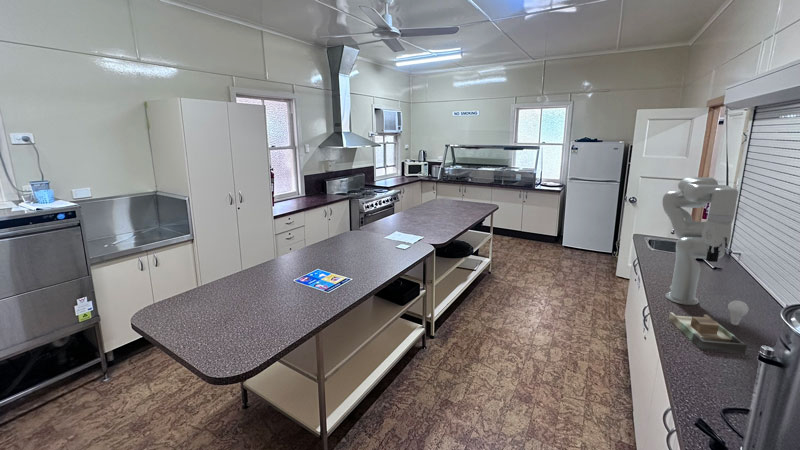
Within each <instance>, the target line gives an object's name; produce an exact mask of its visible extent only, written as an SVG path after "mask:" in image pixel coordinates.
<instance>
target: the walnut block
mask: <svg viewBox="0 0 800 450" xmlns="http://www.w3.org/2000/svg"><path fill="white" fill-rule="evenodd" d="M691 317H692V320H691V326H692V327H693V328H694V329H695V330H696V331H697V332H699V333H704V334H716V335H717V332H718V327H719V325H718V324H716V323H715V322H714V321H713V320H714V319H713V320H711V319H710V318H705V317H704V316H691Z"/></svg>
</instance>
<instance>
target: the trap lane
mask: <svg viewBox="0 0 800 450" xmlns="http://www.w3.org/2000/svg"><path fill="white" fill-rule="evenodd" d="M692 317H693V316H685V315H684V316H682V315H676V313H674V312H669V315H668V320H669V321H670V322H671V323H672V324H673V325H674V326H675V327H676V328H677V329H678V330H679V331H680V332H681V333H683V334H684V335H685V336H686V337H687V338H688V339H689V341H691V342H692V343H693V344H694V346H696V347H698V349H700V350H701V351H708V352H709V351H710V352H723V353H733V354H746V350H747V347H748V345H747V344H746V343H745V342H744V341H742V340H741V339H740V338H738V337H737V336H735V334H733V333H732V332H730V331H729V330H728V329H726V328H725V327H724V326H722V325H721V324H720V323H718V322H717V321H716V320H715V319H713V318H712V317H711V316H709V315H708V314H703V317H705V318H710V319H711V320H713V321H714V322H715V323H716V324H718V325H719V327H718V332H717V335H716V334H704V333H699V332H697V331H696V330H695V329H694V328H693V327H692V326H691V320H692Z"/></svg>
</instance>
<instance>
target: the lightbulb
mask: <svg viewBox="0 0 800 450" xmlns="http://www.w3.org/2000/svg"><path fill="white" fill-rule="evenodd" d="M727 309H728V311H729V314H730V324H731V325H732V326H738V325H740V323H741V320H742V318H743V317H744V316H745V315H747V314H748V312H749V307H748V305H747V304H746V303H745V302H744V301H741V300H731V301H730V302H729V303H728V305H727Z"/></svg>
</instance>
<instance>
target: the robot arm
mask: <svg viewBox="0 0 800 450" xmlns="http://www.w3.org/2000/svg"><path fill="white" fill-rule="evenodd" d="M677 188H678V190H672V191H668V192H666V193H665V194H664V195H663V196H662V208H663V211H664V213H665V214H666V216H667V217H668V219H669V220H670V223H671V226H672V228H673V231H674V235H675V236H676V238H677V240H676V242H675V262H674V269H673V274H672V280H671V285H669V289H670V291H668V292H666V293H665V298H666V299H667V300H669V301H671V302H673V303H677V304H680V305H686V306H696V305H698V304H699V299H698V298H697V297H696V294H697V289H698V284H699V279H700V273H701V265H700V263H699V262H698V260H696V259H705V260H706V261H707V262H710V263H711V262H712V263H717V262H718V259H721V258H723V257H724V256H725V254H726V253H725V252H726V248H728V247H729V245H730V242H731V237H732V224H733V220H734V217H735V216H734V215H735V211H736V207H737V206H736V205H737V203H738V196H739V190H738V189H737V188H733V187H732V186H730V185H725V184H719V183H718V181H717V179H716V178H712V177H697V176H695V177H691V176H690V177H685V178H683V179H681V180H680V181H679V183H678V185H677ZM707 204H709V211H708V216H707V219H706V221H696V220H693V216H692V215H691V214H690V212H688V210H686V209H684V208H688V209H690V208H692V209H693V208H695V209H698V208H699V209H700V208H704V207H705V206H706V205H707Z"/></svg>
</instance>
